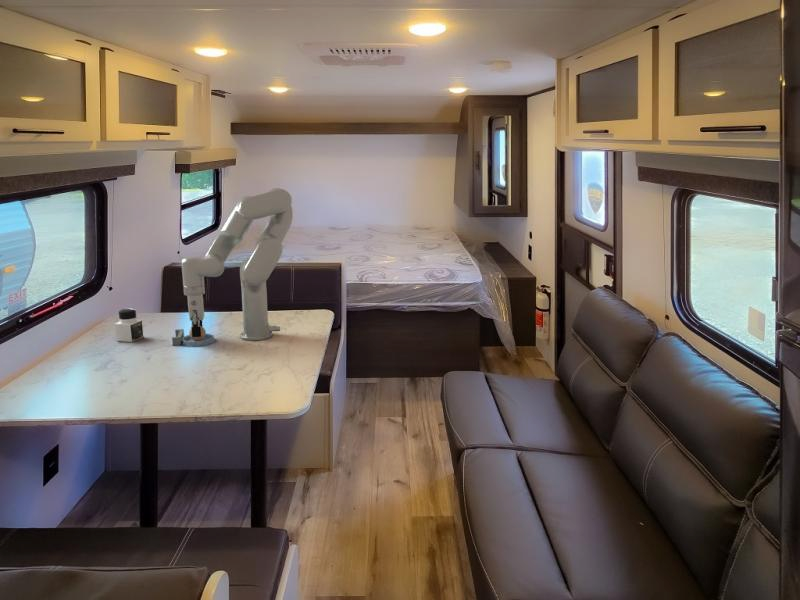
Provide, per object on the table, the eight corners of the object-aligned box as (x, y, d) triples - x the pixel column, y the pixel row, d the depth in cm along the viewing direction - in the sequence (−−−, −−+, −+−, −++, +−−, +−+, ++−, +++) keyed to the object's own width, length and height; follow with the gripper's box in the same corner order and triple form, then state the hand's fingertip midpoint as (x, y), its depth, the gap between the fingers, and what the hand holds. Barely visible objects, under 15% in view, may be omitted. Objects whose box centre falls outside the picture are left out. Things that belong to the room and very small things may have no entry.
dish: (215, 336, 233) (214, 332, 233) (213, 345, 222) (213, 340, 222) (183, 338, 230) (182, 334, 230) (180, 347, 219) (179, 343, 219)
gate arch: (184, 336, 233) (183, 329, 233) (181, 345, 222) (180, 337, 221) (176, 336, 232) (175, 329, 232) (172, 345, 221) (172, 338, 220)
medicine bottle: (132, 342, 225) (129, 312, 222) (115, 341, 226) (112, 311, 224) (143, 337, 232) (141, 307, 229) (127, 336, 233) (124, 306, 230)
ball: (206, 338, 230) (205, 323, 228) (205, 342, 224) (204, 327, 223) (190, 339, 228) (189, 324, 227) (189, 343, 222) (187, 328, 221)
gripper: (203, 294, 214) (206, 339, 218) (205, 285, 231) (209, 327, 234) (181, 295, 212) (185, 340, 216) (185, 286, 229) (189, 328, 233)
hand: (197, 333), depth 225 cm, fingers open, 9 cm apart
